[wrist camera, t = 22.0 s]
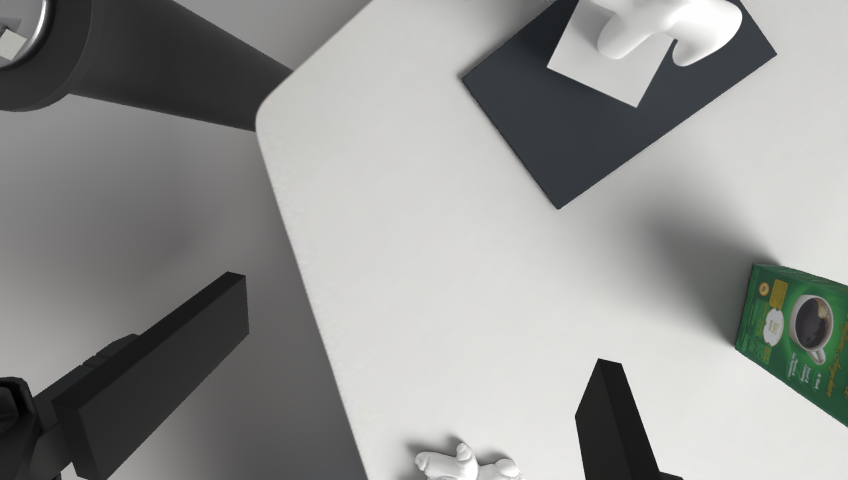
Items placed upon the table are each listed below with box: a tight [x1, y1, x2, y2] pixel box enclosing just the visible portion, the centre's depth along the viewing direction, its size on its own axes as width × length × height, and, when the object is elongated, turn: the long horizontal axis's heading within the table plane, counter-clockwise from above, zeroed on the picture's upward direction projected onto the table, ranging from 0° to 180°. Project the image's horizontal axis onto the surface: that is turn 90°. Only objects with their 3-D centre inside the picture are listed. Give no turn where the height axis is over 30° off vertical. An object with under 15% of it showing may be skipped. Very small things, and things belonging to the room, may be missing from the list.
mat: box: [462, 0, 777, 210], centre depth 33 cm, size 20×14×1 cm
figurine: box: [547, 0, 742, 108], centre depth 26 cm, size 7×9×15 cm
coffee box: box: [735, 264, 848, 427], centre depth 29 cm, size 8×3×13 cm, turn 175°
